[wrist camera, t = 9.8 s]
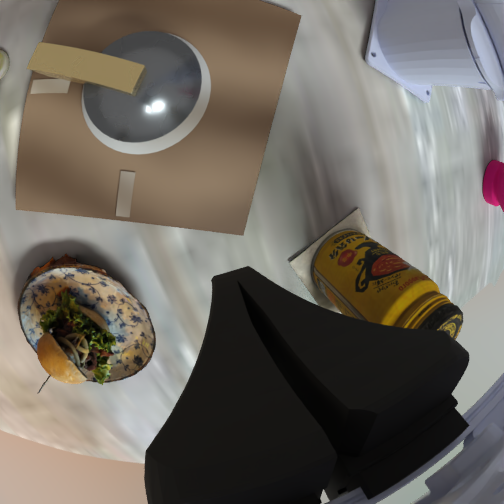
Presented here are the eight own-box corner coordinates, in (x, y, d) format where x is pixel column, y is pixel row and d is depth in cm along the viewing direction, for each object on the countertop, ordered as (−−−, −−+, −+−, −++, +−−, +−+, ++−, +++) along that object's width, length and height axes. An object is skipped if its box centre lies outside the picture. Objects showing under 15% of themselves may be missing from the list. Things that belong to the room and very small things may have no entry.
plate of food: (152, 374, 24) (159, 442, 17) (38, 359, 19) (21, 421, 13) (161, 261, 19) (164, 331, 13) (15, 243, 15) (-34, 299, 9)
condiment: (357, 206, 22) (476, 276, 11) (383, 272, 26) (469, 344, 16) (288, 261, 22) (381, 371, 12) (327, 318, 26) (400, 409, 16)
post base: (72, -15, 8) (67, -22, 7) (296, 19, 14) (303, 13, 13) (20, 206, 14) (13, 211, 13) (240, 231, 20) (244, 237, 19)
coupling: (215, 62, 13) (228, 46, 10) (171, 154, 15) (172, 161, 12) (79, 22, 9) (62, 2, 6) (37, 114, 11) (9, 113, 8)
